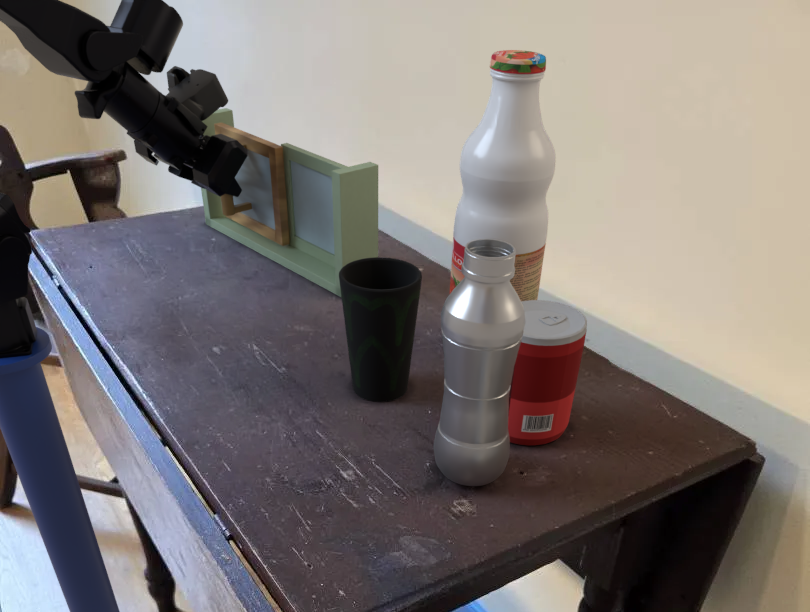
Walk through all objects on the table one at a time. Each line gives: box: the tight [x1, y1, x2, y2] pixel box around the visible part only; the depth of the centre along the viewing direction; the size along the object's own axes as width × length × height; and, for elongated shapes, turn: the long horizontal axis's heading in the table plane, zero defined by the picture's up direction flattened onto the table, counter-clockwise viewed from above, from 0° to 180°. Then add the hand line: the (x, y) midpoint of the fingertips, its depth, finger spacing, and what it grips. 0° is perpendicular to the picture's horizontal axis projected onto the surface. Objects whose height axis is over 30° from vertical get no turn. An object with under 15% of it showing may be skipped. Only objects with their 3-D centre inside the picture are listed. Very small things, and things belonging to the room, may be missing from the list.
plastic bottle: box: [432, 239, 526, 487], centre depth 62 cm, size 6×7×20 cm
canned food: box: [508, 299, 588, 446], centre depth 71 cm, size 8×8×11 cm
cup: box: [339, 256, 423, 403], centre depth 76 cm, size 8×8×12 cm
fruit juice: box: [448, 49, 557, 301], centre depth 78 cm, size 9×9×28 cm
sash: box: [214, 122, 290, 246], centre depth 102 cm, size 14×5×12 cm, turn 42°
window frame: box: [200, 107, 379, 299], centre depth 100 cm, size 32×6×14 cm, turn 42°
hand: (235, 191), depth 102 cm, fingers closed on sash, 2 cm apart
